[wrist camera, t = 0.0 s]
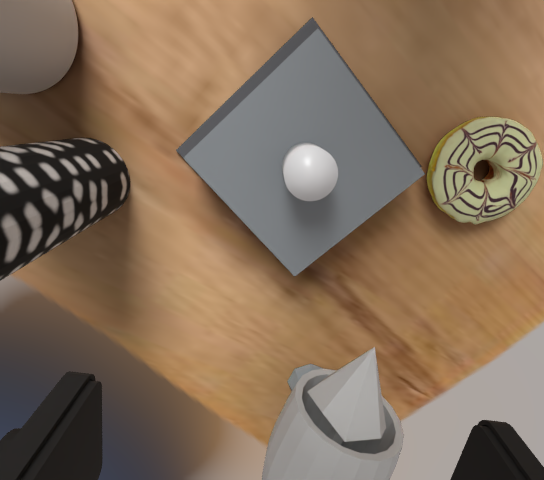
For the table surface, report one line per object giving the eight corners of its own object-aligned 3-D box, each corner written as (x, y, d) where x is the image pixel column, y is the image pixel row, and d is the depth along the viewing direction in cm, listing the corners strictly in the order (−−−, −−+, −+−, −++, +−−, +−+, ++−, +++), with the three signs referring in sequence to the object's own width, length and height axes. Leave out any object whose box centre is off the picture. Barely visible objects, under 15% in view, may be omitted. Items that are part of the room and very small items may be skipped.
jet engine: (417, 358, 45) (500, 496, 29) (299, 440, 50) (314, 601, 33) (343, 281, 42) (390, 388, 25) (223, 377, 46) (197, 521, 30)
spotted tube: (146, 186, 38) (24, 254, 19) (91, 230, 40) (-71, 333, 21) (89, 120, 36) (-112, 124, 17) (34, 170, 38) (-206, 224, 19)
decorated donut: (503, 222, 40) (526, 232, 36) (410, 210, 39) (424, 220, 36) (538, 124, 36) (567, 125, 33) (436, 110, 36) (454, 110, 32)
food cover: (310, 43, 33) (327, 9, 23) (401, 165, 37) (452, 183, 27) (196, 151, 37) (167, 165, 26) (291, 254, 40) (298, 301, 30)
